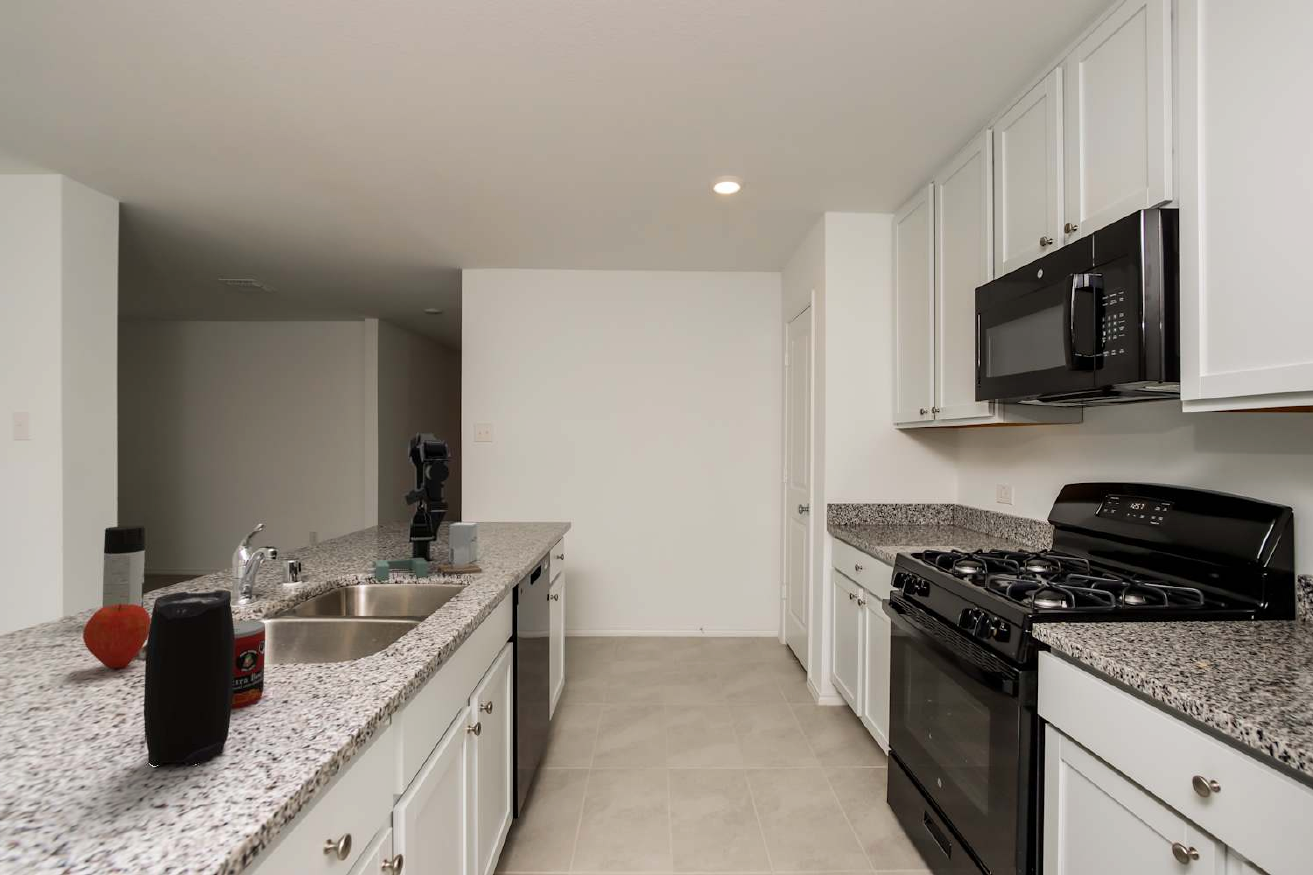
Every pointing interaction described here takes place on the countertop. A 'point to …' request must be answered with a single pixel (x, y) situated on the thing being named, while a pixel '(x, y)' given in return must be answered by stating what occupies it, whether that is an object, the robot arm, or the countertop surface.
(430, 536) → the robot arm
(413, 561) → the vise
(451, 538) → the supplement box
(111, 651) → the apple
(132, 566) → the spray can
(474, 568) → the copper plate
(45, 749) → the countertop surface
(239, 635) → the canned food
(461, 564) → the steel block
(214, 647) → the portable speaker
